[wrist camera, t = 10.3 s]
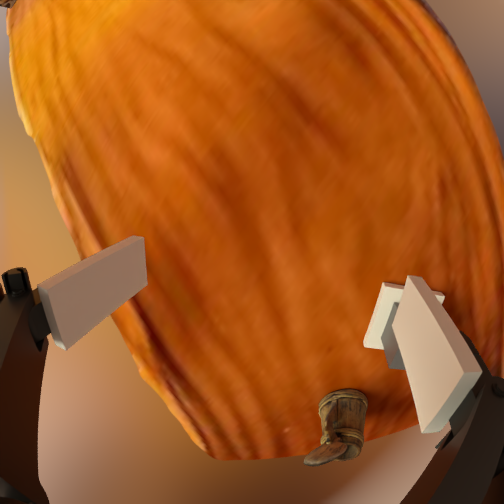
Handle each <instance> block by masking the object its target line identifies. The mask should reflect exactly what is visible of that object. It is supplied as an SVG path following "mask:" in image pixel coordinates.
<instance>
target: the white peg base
mask: <svg viewBox="0 0 504 504" xmlns="http://www.w3.org/2000/svg"><path fill="white" fill-rule="evenodd" d="M404 287H405V286H403V285H397V284H391V283H386V282H383V284H382V287H381V290H380V294H379V297H378V300H377V303H376V306H375V309H374V312H373V315H372V318H371V321H370V324H369V327H368V330H367V332H366V335H365V338H364V341H363V343H364V347H368V348H376V349H384V348H383V344H382V341H381V336H382V333H383V331H384V328H385V326H386V323H387V320H388V318H389V315H390V312H391V309H392V306H393V304H394V302H398V303H400V300H401V297H402V293H403V290H404ZM431 291H432V290H431ZM432 292H433V293H434V295H435V296H436V298H437V299H438V300H439V302H440V303H441V305H442V303H443V300H444V298H445V296H444V295H443V294H442V292H437V291H432Z"/></svg>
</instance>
